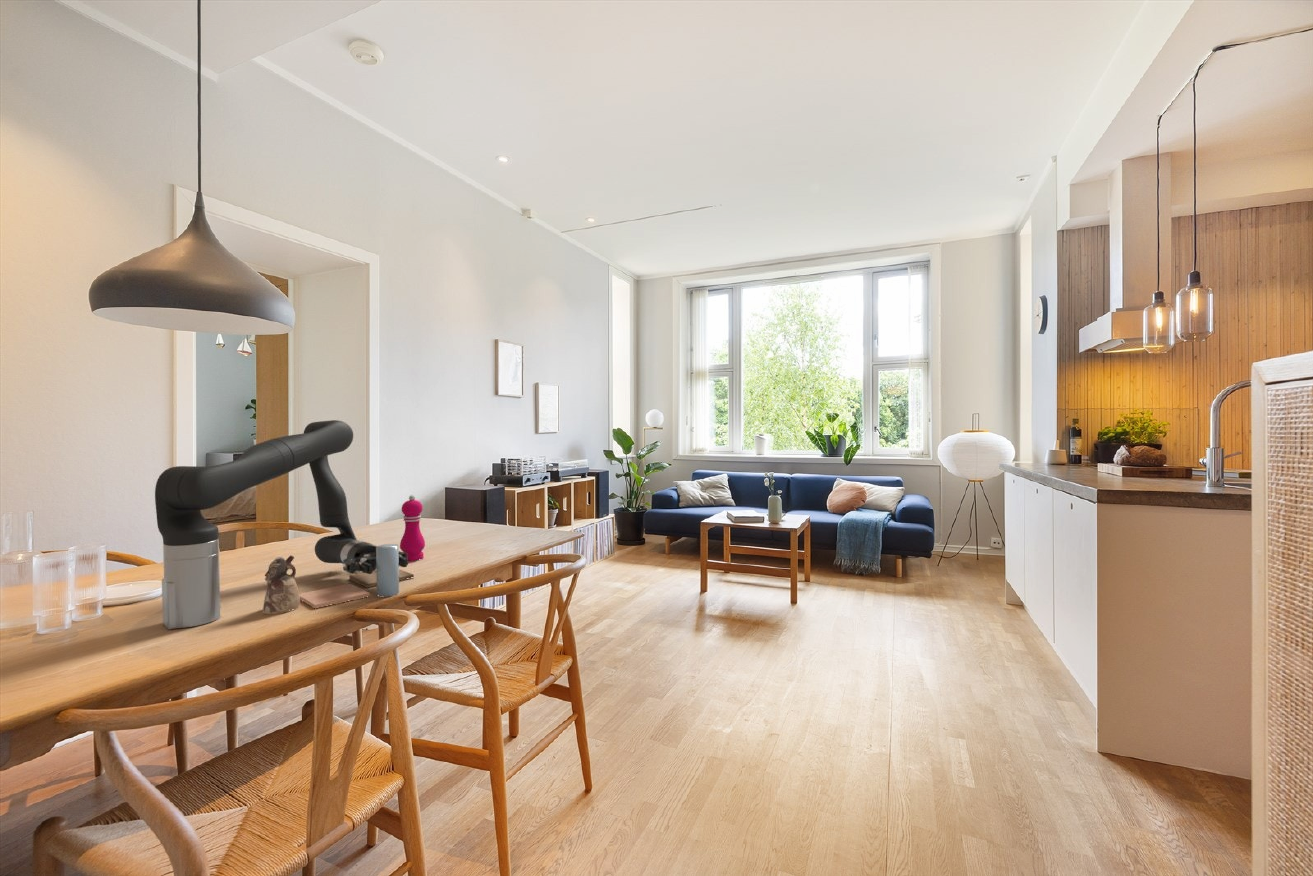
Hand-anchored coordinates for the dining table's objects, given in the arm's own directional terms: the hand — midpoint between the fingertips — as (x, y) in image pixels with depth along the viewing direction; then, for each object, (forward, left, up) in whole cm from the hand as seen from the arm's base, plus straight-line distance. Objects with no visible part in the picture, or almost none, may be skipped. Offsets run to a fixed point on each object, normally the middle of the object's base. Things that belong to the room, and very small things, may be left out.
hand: (388, 566), depth 141 cm
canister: (0, 0, -7) cm, 7 cm away
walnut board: (+5, +15, -7) cm, 18 cm away
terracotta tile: (-10, +7, -7) cm, 14 cm away
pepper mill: (+21, +30, -7) cm, 38 cm away
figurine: (-21, +7, -7) cm, 23 cm away
